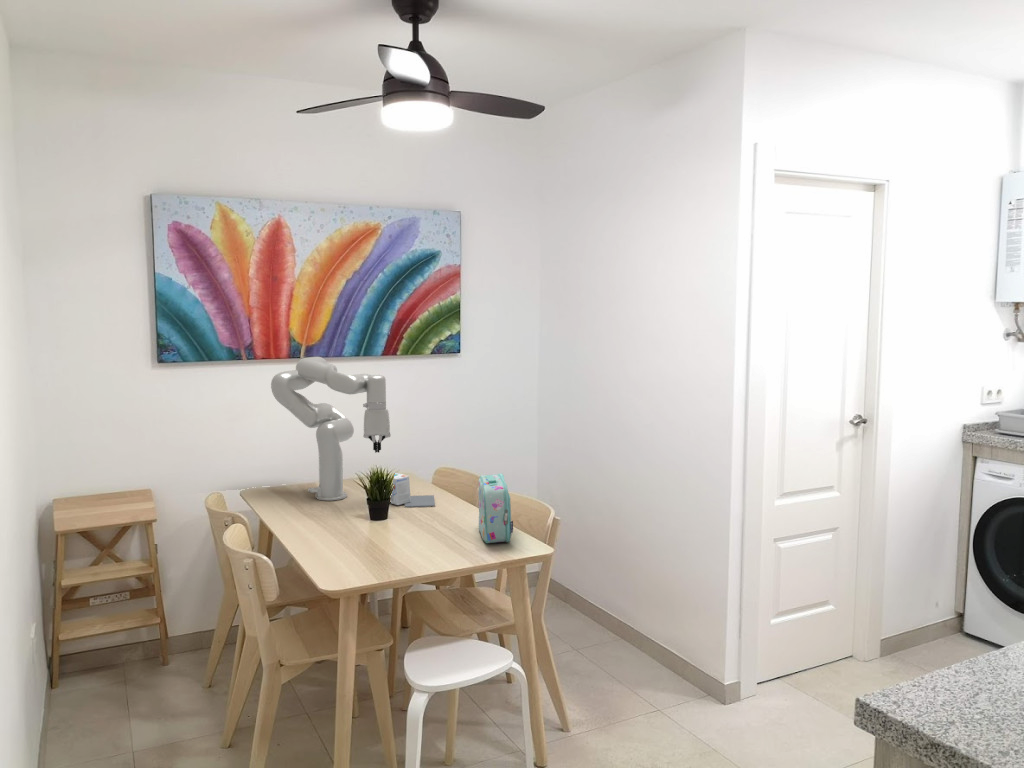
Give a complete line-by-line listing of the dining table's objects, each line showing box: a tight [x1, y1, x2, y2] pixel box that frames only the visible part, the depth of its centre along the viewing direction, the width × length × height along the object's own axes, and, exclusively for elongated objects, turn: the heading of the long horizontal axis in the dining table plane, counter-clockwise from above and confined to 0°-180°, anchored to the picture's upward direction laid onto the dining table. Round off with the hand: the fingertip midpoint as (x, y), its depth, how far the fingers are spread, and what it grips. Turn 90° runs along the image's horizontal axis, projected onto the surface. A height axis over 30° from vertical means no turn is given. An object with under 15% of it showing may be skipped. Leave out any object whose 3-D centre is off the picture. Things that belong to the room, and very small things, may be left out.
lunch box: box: [477, 473, 514, 544], centre depth 271 cm, size 27×10×21 cm, turn 8°
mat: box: [404, 494, 436, 508], centre depth 317 cm, size 12×16×1 cm
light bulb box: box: [390, 472, 411, 506], centre depth 315 cm, size 11×7×11 cm, turn 42°
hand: (377, 451), depth 312 cm, fingers closed
